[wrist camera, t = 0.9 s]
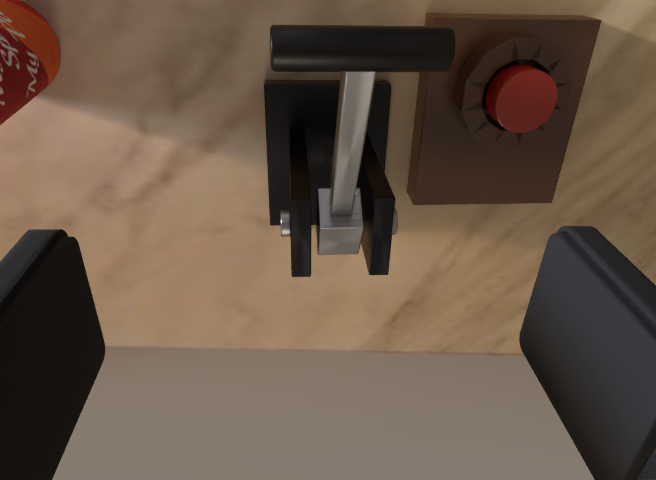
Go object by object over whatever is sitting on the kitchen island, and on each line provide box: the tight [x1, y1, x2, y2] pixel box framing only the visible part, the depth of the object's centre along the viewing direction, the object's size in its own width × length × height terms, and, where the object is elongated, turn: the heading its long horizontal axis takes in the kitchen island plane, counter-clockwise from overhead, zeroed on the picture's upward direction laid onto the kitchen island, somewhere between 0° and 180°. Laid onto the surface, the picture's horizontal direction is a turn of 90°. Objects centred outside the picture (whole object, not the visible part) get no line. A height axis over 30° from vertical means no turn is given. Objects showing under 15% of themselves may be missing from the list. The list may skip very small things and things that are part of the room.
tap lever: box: [270, 25, 456, 255], centre depth 22 cm, size 13×6×2 cm, turn 178°
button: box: [485, 64, 558, 133], centre depth 29 cm, size 4×4×2 cm
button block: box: [407, 14, 601, 205], centre depth 32 cm, size 12×10×4 cm
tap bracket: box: [264, 80, 398, 277], centre depth 30 cm, size 10×8×12 cm
